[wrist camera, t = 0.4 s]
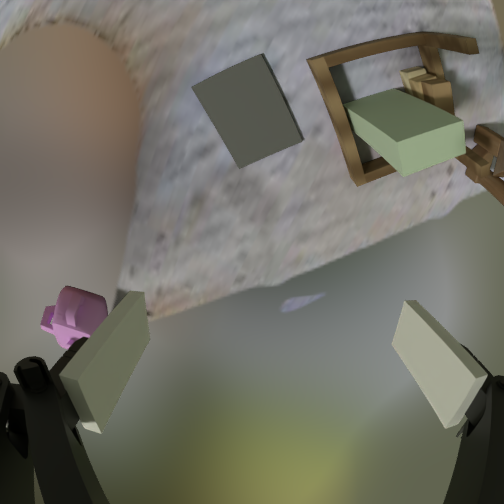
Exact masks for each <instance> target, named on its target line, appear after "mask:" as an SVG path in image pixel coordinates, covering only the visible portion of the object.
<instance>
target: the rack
mask: <svg viewBox="0 0 504 504" xmlns="http://www.w3.org/2000/svg"><path fill="white" fill-rule="evenodd" d="M417 45H418V48H419V51H420V55H421V58H422V62H423V65H424V68H425V70H426V74H429V75H433V76H436V78H440V79H443V80H445V77H444V72H443V68H442V64H441V60H440V56H439V52H438V49H437V48H440V49H446V50H451V51H455V52H460V53H464V54H468V55H471V54H479V50H478V46H477V42H476V38H470V37H464V36H458V35H451V34H443V33H434V32H415V33H408V34H402V35H397V36H392V37H386V38H382V39H377V40H372V41H368V42H364V43H360V44H356V45H352V46H348V47H345V48H341V49H338V50H334V51H331V52H328V53H324V54H321V55H318V56H315V57H312V58H309V59H306V60H307V62H308V65H309V67H310V69H311V71H312V74H313V76H314V78H315V80H316V83H317V85H318V88H319V90H320V92H321V95H322V97H323V100H324V102H325V105H326V107H327V110H328V113H329V115H330V118H331V121H332V123H333V126H334V129H335V131H336V134H337V137H338V140H339V143H340V146H341V149H342V152H343V155H344V158H345V161H346V164H347V167H348V171H349V174H350V177H351V179H352V180H353V181H354V183H355V184H356V186H357V187H358V186H360V185H363V184H365V183H368V182H370V181H373V180H376V179H378V178H381V177H383V176H386V175H388V174H391V173H394V172H396V171H397V170H396V169H395V168H394V167H393V166H392V165H391V164H389V163H388V162H387V161H386V160H385V159H384V158H383V157H380V158H377V159H374V160H372V161H369V162H366V163H364V164H361V161H360V157H359V154H358V150H357V147H356V144H355V140H354V137H353V134H352V131H351V128H350V125H349V122H348V119H347V116H346V113H345V110H344V107H343V105H342V102H341V99H340V96H339V94H338V91H337V89H336V86H335V83H334V81H333V78H332V76H331V73H330V71H329V69H328V68H329V67H332V66H335V65H338V64H342V63H345V62H348V61H352V60H355V59H359V58H363V57H367V56H370V55H374V54H378V53H383V52H387V51H391V50H396V49H401V48H406V47H411V46H417ZM455 158H456V159H457V160H459V161H460V162H461V163H463V164H464V165H465V166H466V167H468V168H469V169H470V170H471V171H473V172H474V173H475V174H476V175H477V176H479V177H480V178H484V177H486V176H488V175H490V163H489V162H488V161H486V160H485V159H484V158H482V157H481V156H479V155H478V154H477V153H475V152H474V151H472V150H471V149H470V148H468V147H467V146H466V153H465V154H462V155H460V156H457V157H455Z"/></svg>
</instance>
